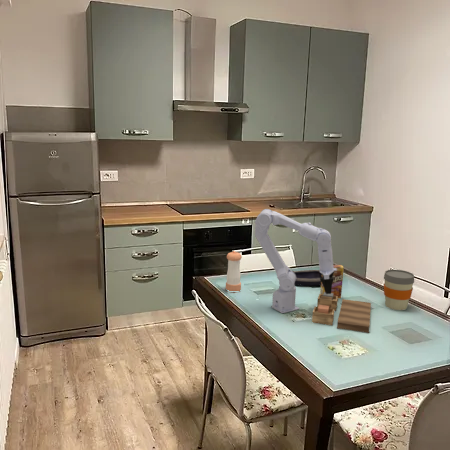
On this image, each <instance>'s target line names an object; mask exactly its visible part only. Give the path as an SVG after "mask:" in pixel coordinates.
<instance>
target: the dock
mask: <svg viewBox="0 0 450 450" xmlns="http://www.w3.org/2000/svg"><path fill="white" fill-rule="evenodd" d="M371 307H372V302H368V301H360V300H359V301H358V300H351V299H343V298H342V300H341V305H340V309H339V314H338V318H337V322H336V329H339V330H345V331H354V332H361V333H367V334H368V333H370V324H371V310H372V309H371Z"/></svg>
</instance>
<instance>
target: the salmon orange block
mask: <svg viewBox="0 0 450 450" xmlns="http://www.w3.org/2000/svg"><path fill="white" fill-rule="evenodd" d="M318 312H319V313H326V314H329V306H326V305H319V307H318Z"/></svg>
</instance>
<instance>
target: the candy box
mask: <svg viewBox="0 0 450 450" xmlns="http://www.w3.org/2000/svg"><path fill="white" fill-rule="evenodd" d="M333 267H334V268H337V271H334V274H333V277H334V280H333V283H332V291H331V293H333V296H338V299H341V298H342V292H343V291H342V290H343V280H344V266H343V265H342V264H333ZM322 277H323V276H322ZM324 292H325V290H324V286H323V284H322V282H321V285H320V292H319V294H324Z"/></svg>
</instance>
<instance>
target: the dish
mask: <svg viewBox="0 0 450 450" xmlns="http://www.w3.org/2000/svg"><path fill="white" fill-rule="evenodd" d="M291 271H292V272H294V273H295V275H296V281H295V283H294V286H302V287H303V286H304V287H305V286H306V287H314V286H315V287H317V286H320V287H321V281H320V277H322V274H321V273H320V272H319V269H303V270H291Z"/></svg>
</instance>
